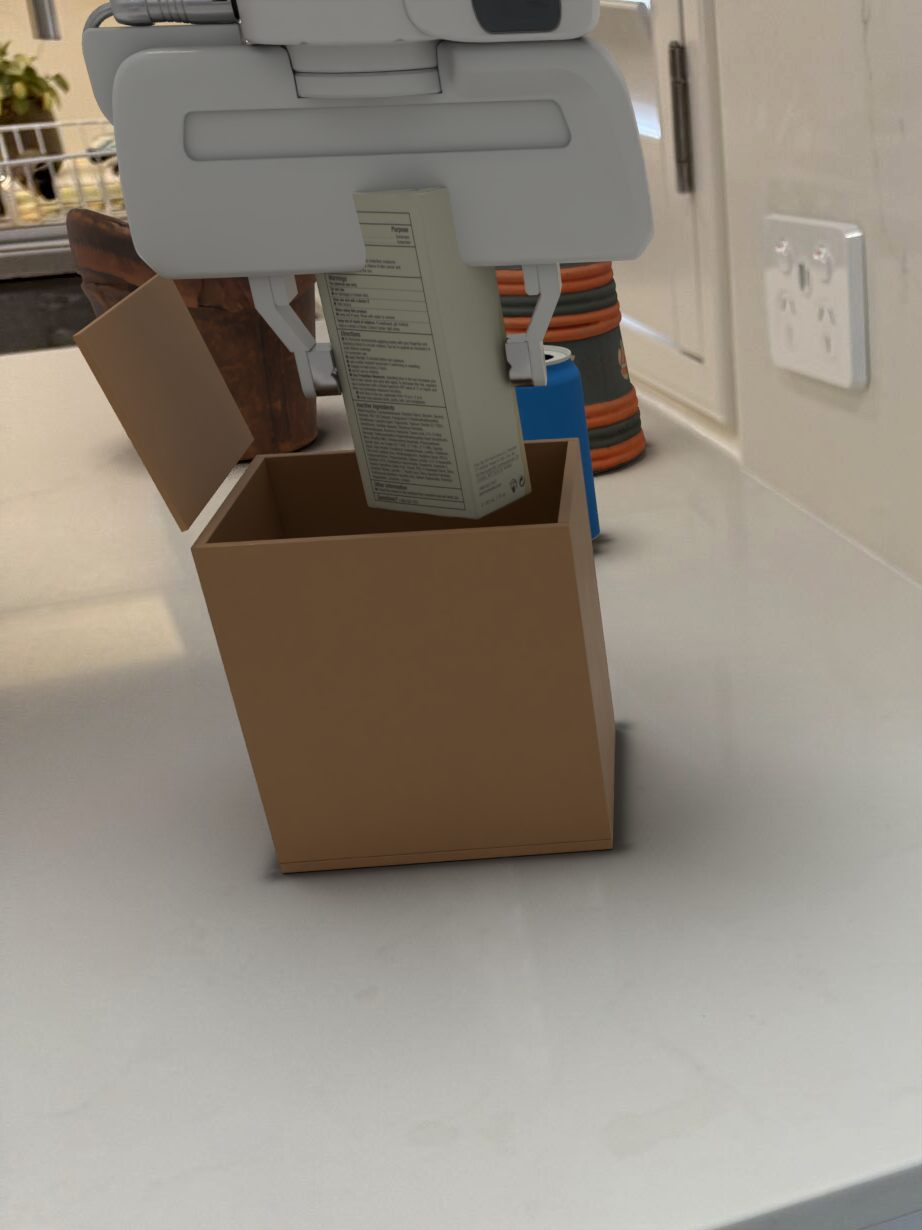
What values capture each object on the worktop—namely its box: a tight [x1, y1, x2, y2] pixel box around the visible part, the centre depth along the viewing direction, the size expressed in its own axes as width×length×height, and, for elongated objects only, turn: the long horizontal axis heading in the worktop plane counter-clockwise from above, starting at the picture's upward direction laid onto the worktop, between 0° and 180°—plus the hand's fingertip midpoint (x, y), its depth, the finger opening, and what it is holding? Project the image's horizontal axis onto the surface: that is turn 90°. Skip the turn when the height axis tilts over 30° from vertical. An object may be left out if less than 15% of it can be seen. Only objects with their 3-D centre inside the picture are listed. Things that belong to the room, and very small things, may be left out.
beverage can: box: [515, 345, 601, 541], centre depth 105 cm, size 6×6×12 cm
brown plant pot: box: [65, 207, 319, 461], centre depth 127 cm, size 18×20×18 cm
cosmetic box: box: [315, 187, 532, 520], centre depth 66 cm, size 6×4×12 cm
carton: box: [190, 438, 617, 874], centre depth 73 cm, size 15×14×14 cm
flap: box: [72, 274, 254, 533], centre depth 65 cm, size 7×14×1 cm
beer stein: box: [495, 261, 647, 475], centre depth 120 cm, size 19×15×20 cm
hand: (429, 389), depth 67 cm, fingers closed on cosmetic box, 7 cm apart
